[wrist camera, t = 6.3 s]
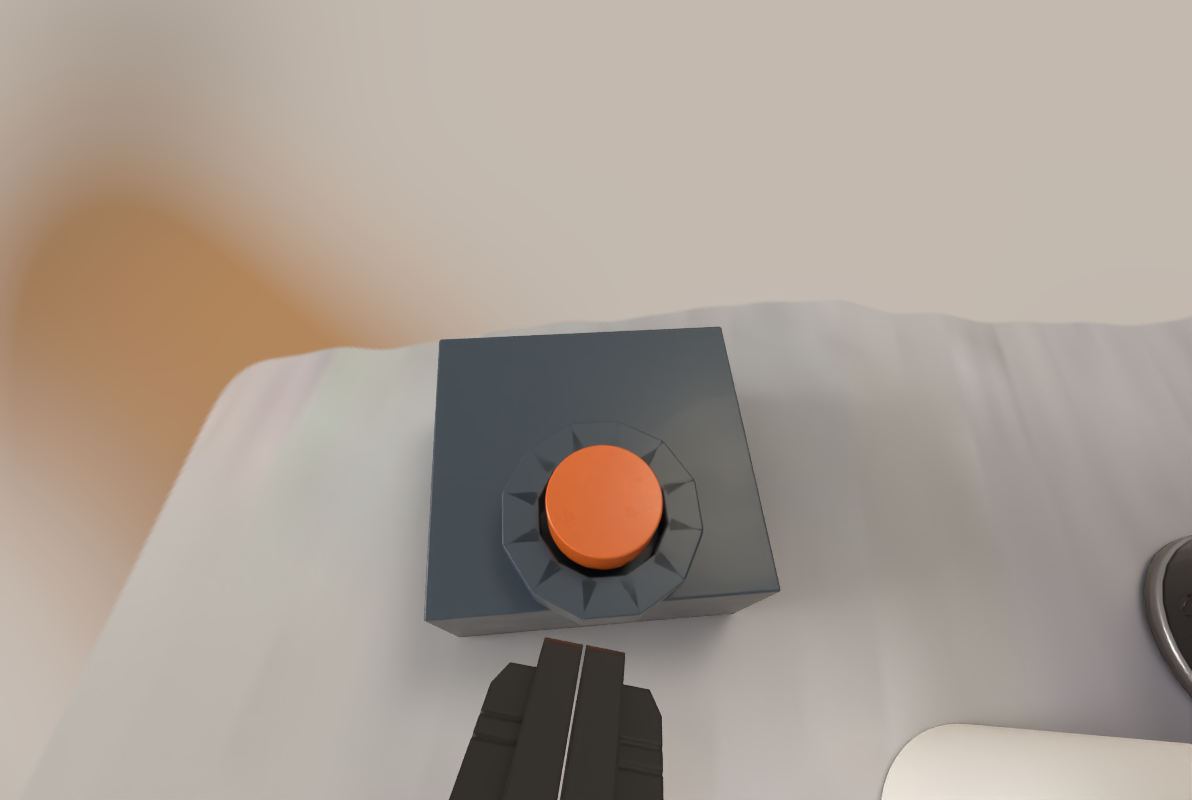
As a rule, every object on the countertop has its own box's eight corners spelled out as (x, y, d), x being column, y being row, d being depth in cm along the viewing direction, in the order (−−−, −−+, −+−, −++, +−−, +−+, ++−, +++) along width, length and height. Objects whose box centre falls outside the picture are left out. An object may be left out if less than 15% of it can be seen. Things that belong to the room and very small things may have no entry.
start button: (648, 460, 19) (654, 440, 18) (662, 565, 18) (671, 553, 16) (545, 467, 19) (543, 447, 18) (550, 574, 17) (547, 563, 16)
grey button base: (693, 393, 29) (732, 299, 22) (736, 627, 24) (805, 600, 17) (464, 406, 29) (429, 313, 21) (457, 651, 23) (407, 634, 16)
